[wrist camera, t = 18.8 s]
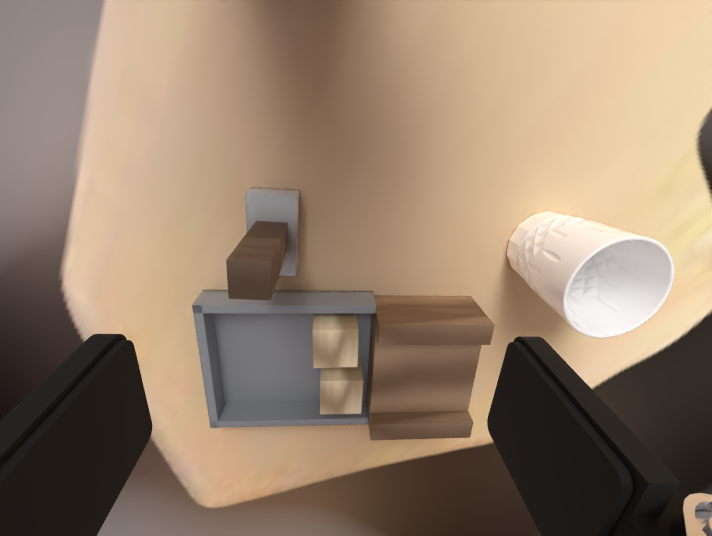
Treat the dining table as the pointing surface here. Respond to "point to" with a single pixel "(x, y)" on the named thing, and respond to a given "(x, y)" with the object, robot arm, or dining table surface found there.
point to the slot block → (423, 366)
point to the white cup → (592, 272)
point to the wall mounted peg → (265, 244)
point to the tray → (272, 356)
